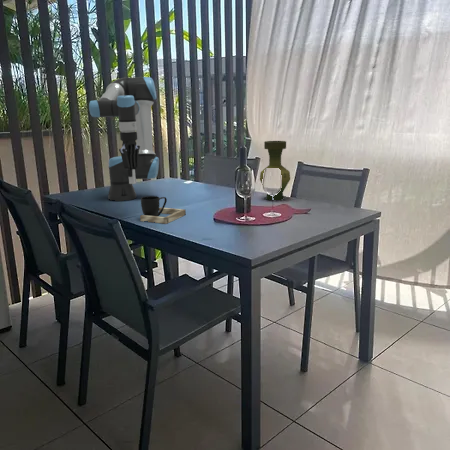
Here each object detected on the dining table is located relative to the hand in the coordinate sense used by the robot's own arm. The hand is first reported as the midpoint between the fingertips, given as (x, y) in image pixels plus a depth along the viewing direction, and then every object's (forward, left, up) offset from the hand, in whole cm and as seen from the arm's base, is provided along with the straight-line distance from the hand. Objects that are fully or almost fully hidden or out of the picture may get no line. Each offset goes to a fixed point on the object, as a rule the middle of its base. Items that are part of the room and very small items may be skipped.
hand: (132, 183), depth 206 cm
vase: (+51, +54, -15) cm, 76 cm away
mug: (+12, -1, -15) cm, 19 cm away
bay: (+15, -1, -15) cm, 21 cm away
